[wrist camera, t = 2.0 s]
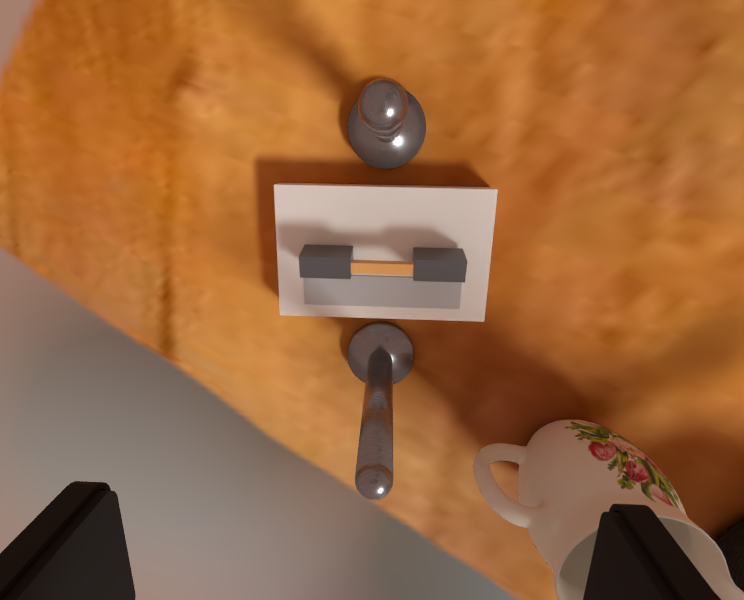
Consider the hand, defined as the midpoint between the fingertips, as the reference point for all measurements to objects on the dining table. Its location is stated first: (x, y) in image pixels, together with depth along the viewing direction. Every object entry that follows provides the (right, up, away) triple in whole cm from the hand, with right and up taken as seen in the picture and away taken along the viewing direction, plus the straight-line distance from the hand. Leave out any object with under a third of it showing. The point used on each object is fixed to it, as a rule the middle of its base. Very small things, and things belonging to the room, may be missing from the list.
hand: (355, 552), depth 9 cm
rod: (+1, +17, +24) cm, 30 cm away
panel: (+1, +9, +27) cm, 29 cm away
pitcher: (+17, -9, +32) cm, 37 cm away
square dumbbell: (+1, +8, +24) cm, 26 cm away
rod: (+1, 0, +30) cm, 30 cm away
